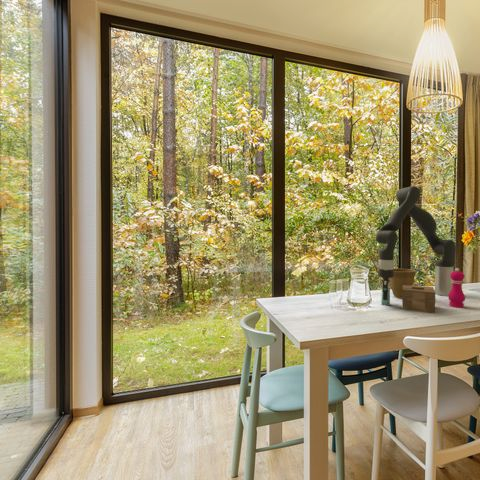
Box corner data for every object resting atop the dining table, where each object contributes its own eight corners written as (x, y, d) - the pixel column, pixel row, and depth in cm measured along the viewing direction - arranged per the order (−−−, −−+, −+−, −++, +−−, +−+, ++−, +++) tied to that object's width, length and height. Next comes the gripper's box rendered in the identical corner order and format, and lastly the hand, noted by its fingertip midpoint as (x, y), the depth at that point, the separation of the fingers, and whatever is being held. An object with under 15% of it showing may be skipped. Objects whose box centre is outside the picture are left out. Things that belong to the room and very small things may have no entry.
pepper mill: (467, 308, 158) (468, 269, 157) (451, 307, 160) (452, 268, 159) (460, 304, 165) (461, 267, 164) (445, 304, 167) (446, 267, 166)
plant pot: (415, 295, 187) (416, 269, 186) (414, 300, 174) (414, 272, 173) (388, 292, 195) (388, 267, 194) (385, 297, 182) (385, 270, 181)
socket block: (402, 303, 170) (402, 284, 169) (432, 306, 163) (432, 287, 163) (402, 309, 157) (402, 289, 157) (434, 312, 151) (435, 292, 150)
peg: (381, 303, 170) (381, 286, 170) (389, 304, 168) (390, 287, 168) (381, 305, 166) (381, 288, 166) (389, 305, 165) (389, 289, 164)
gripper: (379, 265, 174) (378, 294, 175) (377, 269, 162) (377, 300, 163) (394, 266, 171) (393, 296, 172) (393, 270, 158) (393, 301, 159)
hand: (385, 298), depth 167 cm, fingers open, 8 cm apart
